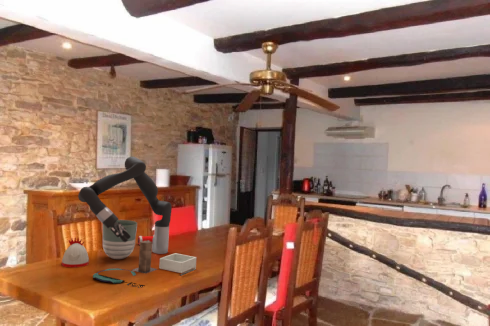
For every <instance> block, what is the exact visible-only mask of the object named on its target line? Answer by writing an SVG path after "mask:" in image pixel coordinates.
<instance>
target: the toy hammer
mask: <svg viewBox="0 0 490 326" xmlns="http://www.w3.org/2000/svg"><path fill="white" fill-rule="evenodd" d="M153 237H154V234H153V235H148V236H143V235H139V236H138V237H137V245H139V246H140V242H143V241H150V242H152V243H153Z"/></svg>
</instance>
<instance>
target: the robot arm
mask: <svg viewBox="0 0 490 326" xmlns="http://www.w3.org/2000/svg"><path fill="white" fill-rule="evenodd" d="M124 168H125V170H124V171H121V172H118V173H112V174H108V175H106V176H103V177H102V178H100V179H98V180H96V181H95V182H94V183H93V184H92V185H90V186H83V187H82V188H81V189H80V190H79V192H78V195H77V197H78V201H80V202H82V203H86V204H87V205H88V207H89V210H90V211H91V212H92V213H93V214H94V215H95V216H96V217H97V219H98V221H100V223H102V225H103V224H104V225H105V226H106V228H109V227H111V229H110V230H111V231H112V232H113V233H114V234H115V235H116V236H117V237H119V238H121V239H122V240H123V242H124V243H125V242H127V241H128V239H129V238H130V237H131V236H130V235H129V234H128V233H127V232H126V228H125V227H124V226H123V225H122V224H121V223H120V222H118V223H117V222H116V221H117V220H119V217H118V216H117V215H116V214H115V213H114V212H113V211H112V210H111V209H110V208H109V207H107V205H106V204H105V203H104V202H103V201H102V200H101V199H100V197H99V195H101V194H103V193H105V192H106V191H108V190H110V189H111V188H113V187H115V186H117V185H119V184H122V183H125V182H127V181H129V180H132V179H134V181H135V183H136V185H137V186H138V188H139V190H140V191H141V193H142V195H144V197H145V199H146V201H147V202H148V204H149V205H150V208H151V209H152V211H153V213H154V215H157V216H162V217H161V219H158V220H155V221H154V231H153V232H154V234H153V235H154V237H153V243H152V252H151V253H154V254H157V255H165V254H167V253H169V251H168V250H169V239H170V238H169V236H170V235H169V234H170V224H171V218H172V204H171V202H169V201H164V200H159V199H158V197H157V196H158V194H159V189H158V186H157V184H156V183H155V181H154V180H153V178H151V176H149V175H148V174H147V172H146V170H147V165H146V163H145V162H144V161H143V160H141V159H140V158H138V157H136V156H129V157H127V158H126V159H125V161H124Z"/></svg>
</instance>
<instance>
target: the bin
mask: <svg viewBox="0 0 490 326" xmlns="http://www.w3.org/2000/svg"><path fill="white" fill-rule="evenodd" d="M158 267H159V269H161V270H166V271H169V272H175V273H178V274H179V273H180V274H179V276H180V277H182V276H184V275H186V274H189V273H191V272H194V271H195V270H196V268H197V256H192V255H191V256H190V255H187V254H181V253H177V252H175V253H172V254H169V255H166V256H163V257H160V258H159V266H158Z"/></svg>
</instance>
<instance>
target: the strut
mask: <svg viewBox="0 0 490 326" xmlns="http://www.w3.org/2000/svg"><path fill="white" fill-rule="evenodd" d="M152 253H153V252H152V242H150V241H143V242H140V245H139V257H138V268H139V269H138V270H141V271H148V270H150V269H151V268H152V267H151V265H152Z"/></svg>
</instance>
